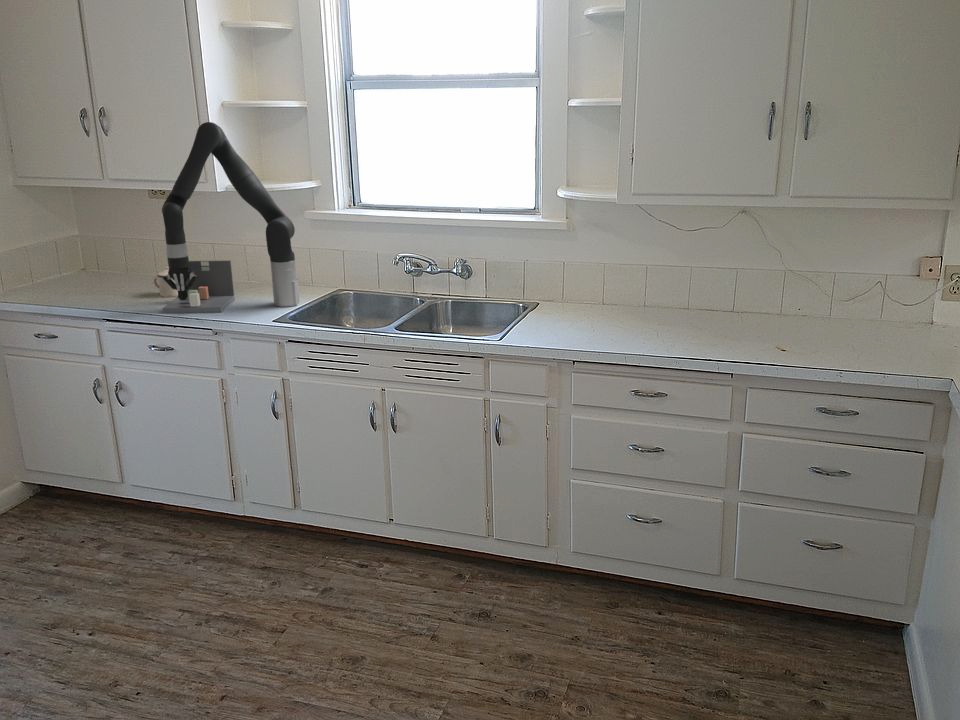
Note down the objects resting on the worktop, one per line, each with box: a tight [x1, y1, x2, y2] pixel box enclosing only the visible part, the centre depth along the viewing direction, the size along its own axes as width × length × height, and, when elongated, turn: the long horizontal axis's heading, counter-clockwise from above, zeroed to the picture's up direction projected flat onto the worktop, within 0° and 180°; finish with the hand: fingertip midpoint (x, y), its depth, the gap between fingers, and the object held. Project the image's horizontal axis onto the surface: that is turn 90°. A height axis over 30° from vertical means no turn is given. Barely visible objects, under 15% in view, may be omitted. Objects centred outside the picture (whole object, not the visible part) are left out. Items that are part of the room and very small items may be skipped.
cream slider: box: [189, 293, 200, 306], centre depth 328 cm, size 3×2×4 cm
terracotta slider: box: [198, 286, 209, 299], centre depth 338 cm, size 3×2×4 cm
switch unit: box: [162, 259, 236, 314], centre depth 334 cm, size 22×19×16 cm
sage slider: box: [188, 290, 198, 303], centre depth 333 cm, size 3×2×4 cm
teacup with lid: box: [153, 266, 178, 298], centre depth 354 cm, size 12×9×12 cm
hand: (183, 299), depth 333 cm, fingers closed
